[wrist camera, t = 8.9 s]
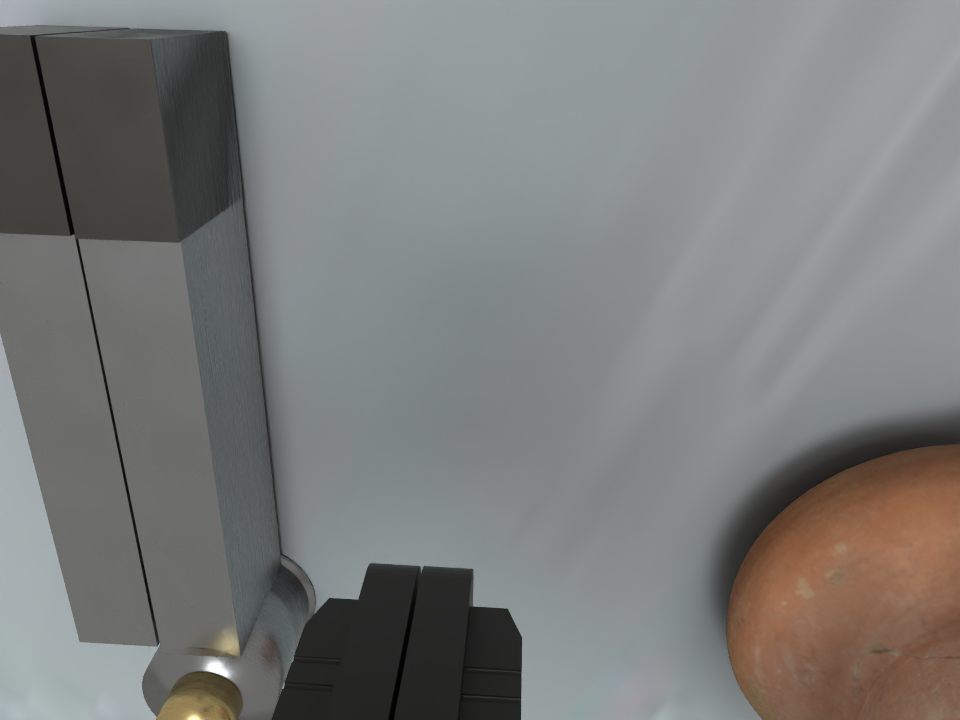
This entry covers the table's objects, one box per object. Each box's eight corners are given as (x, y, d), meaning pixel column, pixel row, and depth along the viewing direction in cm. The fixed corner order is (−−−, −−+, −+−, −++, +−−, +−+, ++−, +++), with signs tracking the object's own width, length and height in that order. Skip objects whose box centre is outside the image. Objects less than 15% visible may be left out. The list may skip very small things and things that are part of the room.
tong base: (319, 644, 34) (272, 793, 27) (159, 634, 34) (75, 780, 28) (269, 32, 23) (173, 44, 17) (38, 25, 24) (-140, 34, 17)
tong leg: (313, 643, 33) (279, 749, 29) (204, 637, 34) (152, 741, 29) (258, 32, 23) (191, 40, 18) (101, 27, 23) (-6, 34, 19)
